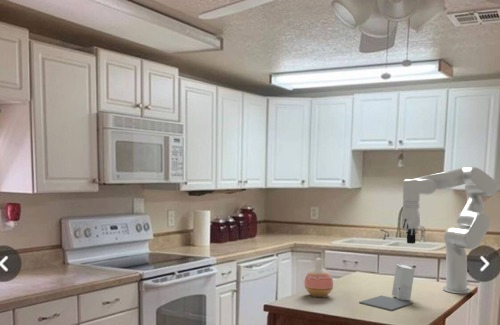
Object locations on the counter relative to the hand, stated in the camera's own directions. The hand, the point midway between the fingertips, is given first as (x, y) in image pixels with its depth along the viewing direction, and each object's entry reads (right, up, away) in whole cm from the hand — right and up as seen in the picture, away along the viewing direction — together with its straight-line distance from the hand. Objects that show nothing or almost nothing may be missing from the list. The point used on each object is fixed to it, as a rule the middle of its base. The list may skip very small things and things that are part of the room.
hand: (411, 243), depth 225 cm
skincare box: (-7, -25, -7) cm, 27 cm away
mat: (-17, -24, -16) cm, 33 cm away
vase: (-45, -25, -4) cm, 51 cm away
